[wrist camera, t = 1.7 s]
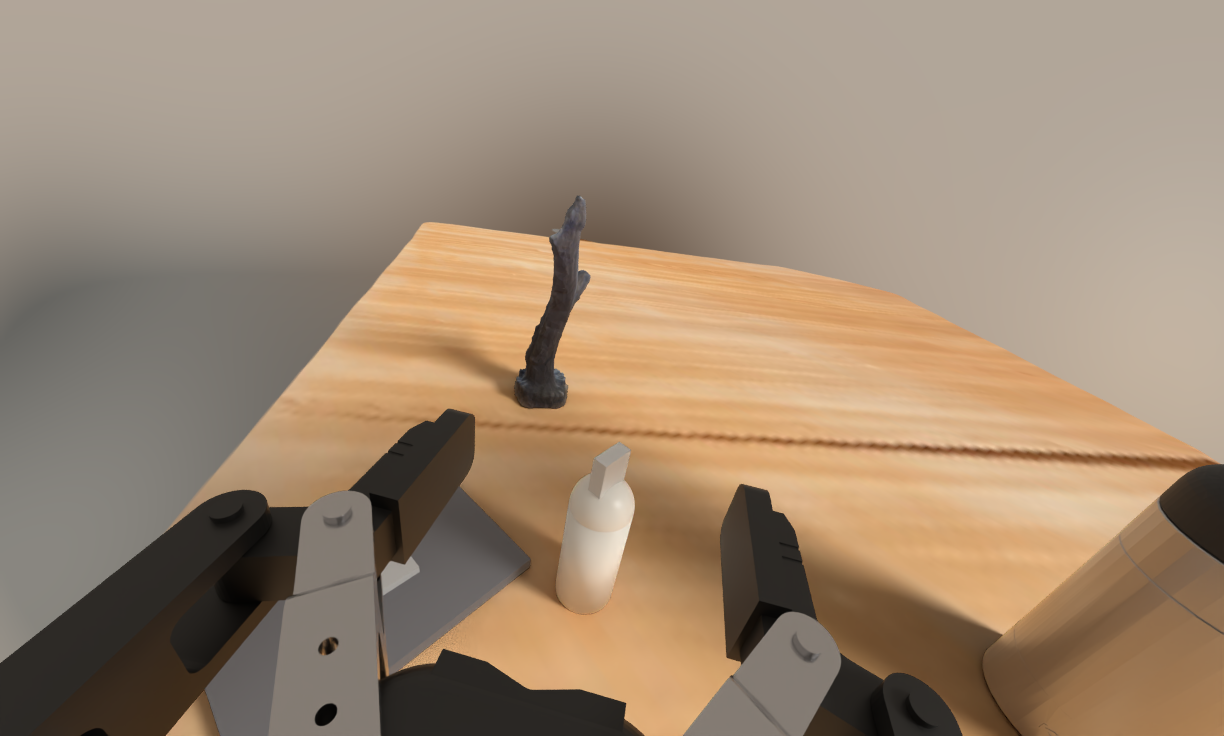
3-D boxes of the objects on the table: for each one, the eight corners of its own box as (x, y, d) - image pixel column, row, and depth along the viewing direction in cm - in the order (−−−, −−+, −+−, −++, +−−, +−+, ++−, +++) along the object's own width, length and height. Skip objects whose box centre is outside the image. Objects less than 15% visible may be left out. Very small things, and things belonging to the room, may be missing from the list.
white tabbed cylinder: (583, 550, 36) (609, 422, 29) (623, 587, 34) (662, 457, 27) (543, 584, 33) (562, 450, 26) (584, 627, 31) (617, 492, 24)
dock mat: (445, 480, 40) (445, 467, 39) (530, 567, 34) (531, 554, 33) (182, 615, 27) (173, 600, 26) (242, 793, 21) (233, 780, 20)
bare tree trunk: (514, 374, 57) (526, 170, 45) (573, 376, 59) (600, 182, 47) (514, 430, 47) (530, 190, 35) (584, 431, 49) (623, 203, 37)
